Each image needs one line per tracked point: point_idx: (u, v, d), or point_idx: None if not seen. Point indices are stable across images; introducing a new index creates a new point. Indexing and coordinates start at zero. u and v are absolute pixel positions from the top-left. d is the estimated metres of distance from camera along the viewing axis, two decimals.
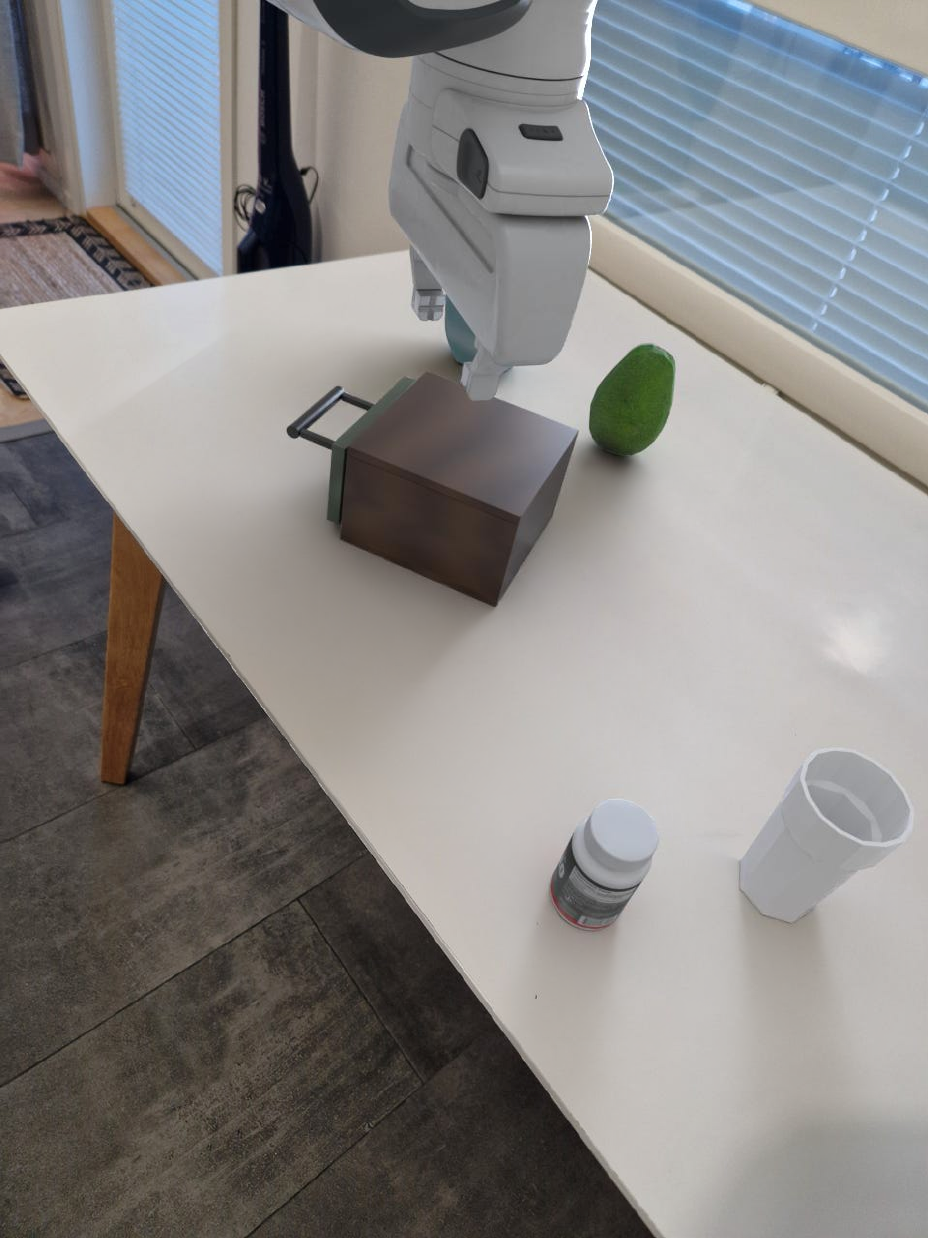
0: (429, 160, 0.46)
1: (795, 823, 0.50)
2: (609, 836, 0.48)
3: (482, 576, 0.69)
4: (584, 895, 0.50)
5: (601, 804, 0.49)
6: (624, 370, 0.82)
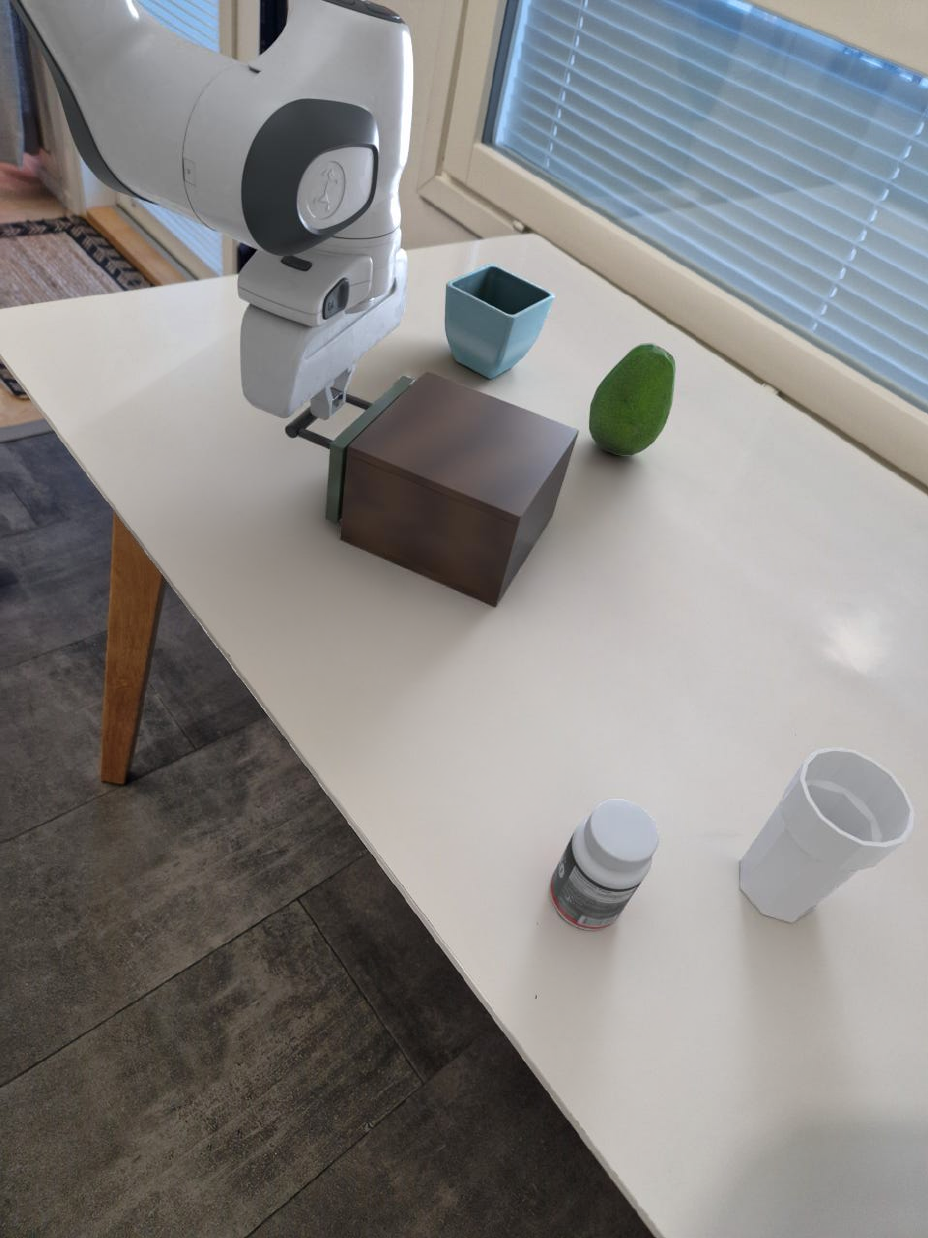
0: None
1: (795, 823, 0.50)
2: (609, 836, 0.48)
3: (482, 576, 0.69)
4: (584, 895, 0.50)
5: (601, 804, 0.49)
6: (624, 370, 0.82)
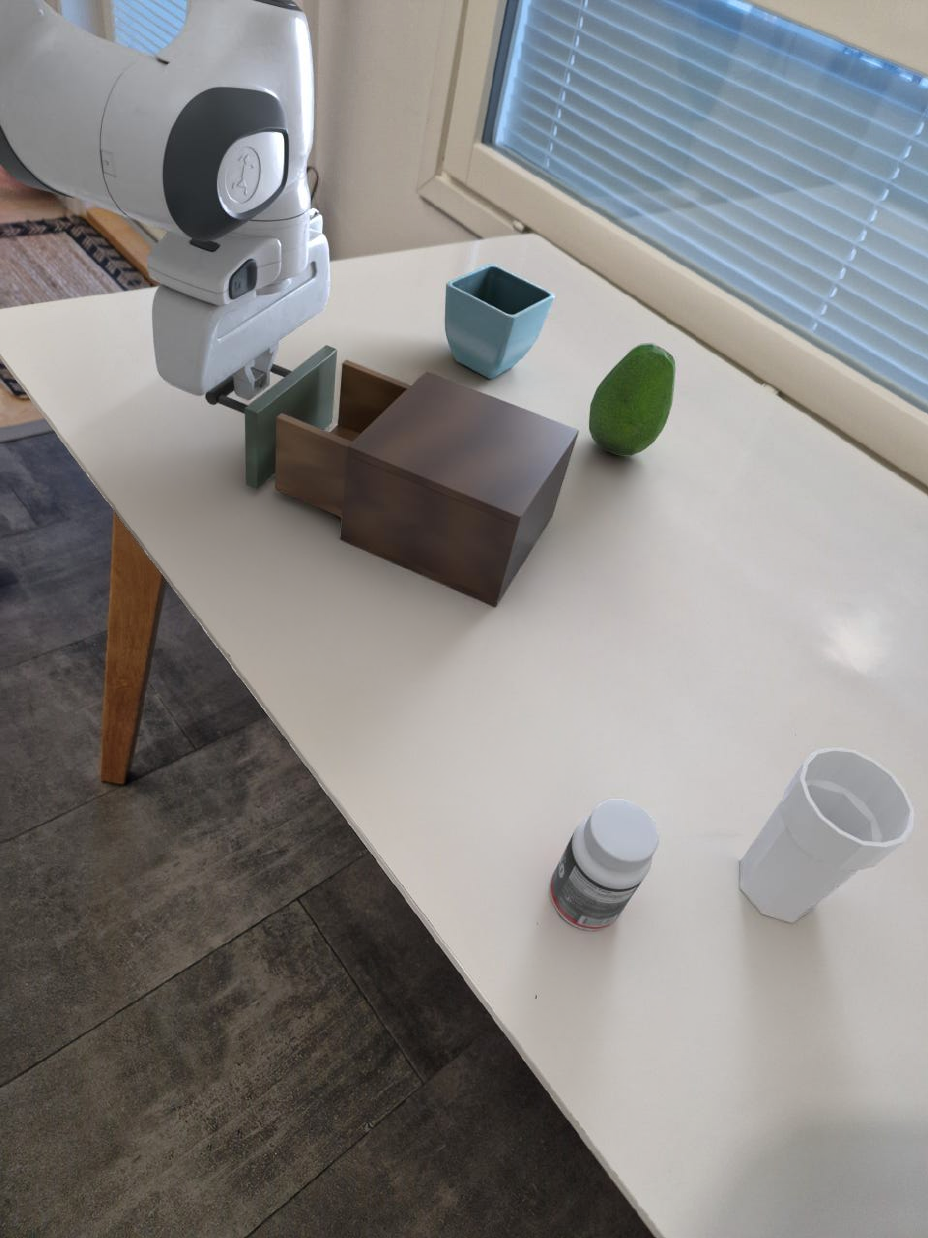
0: None
1: (795, 823, 0.50)
2: (609, 836, 0.48)
3: (482, 576, 0.69)
4: (584, 895, 0.50)
5: (601, 804, 0.49)
6: (624, 370, 0.82)
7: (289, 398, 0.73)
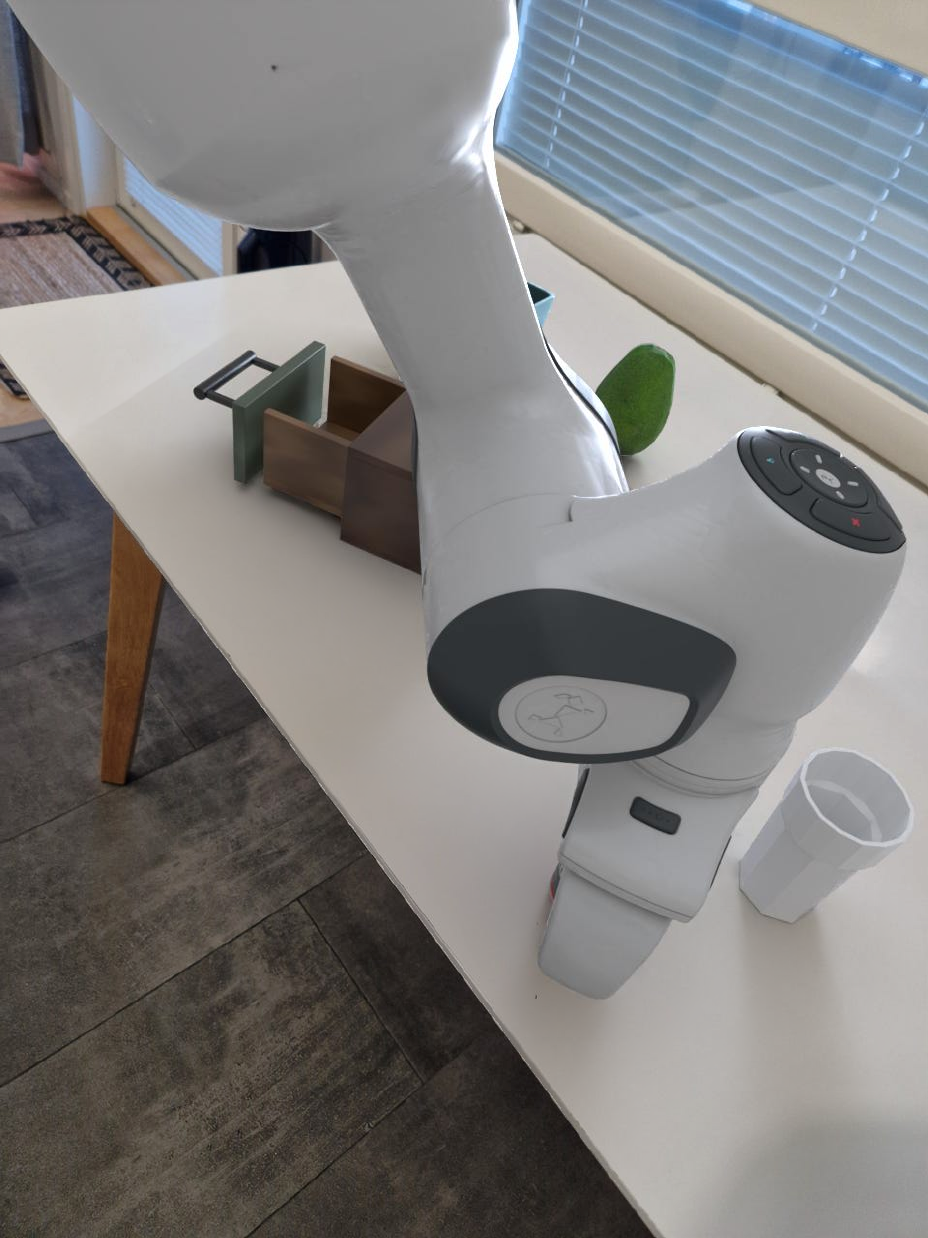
0: None
1: (795, 823, 0.50)
2: None
3: None
4: None
5: None
6: (624, 370, 0.82)
7: (277, 393, 0.73)
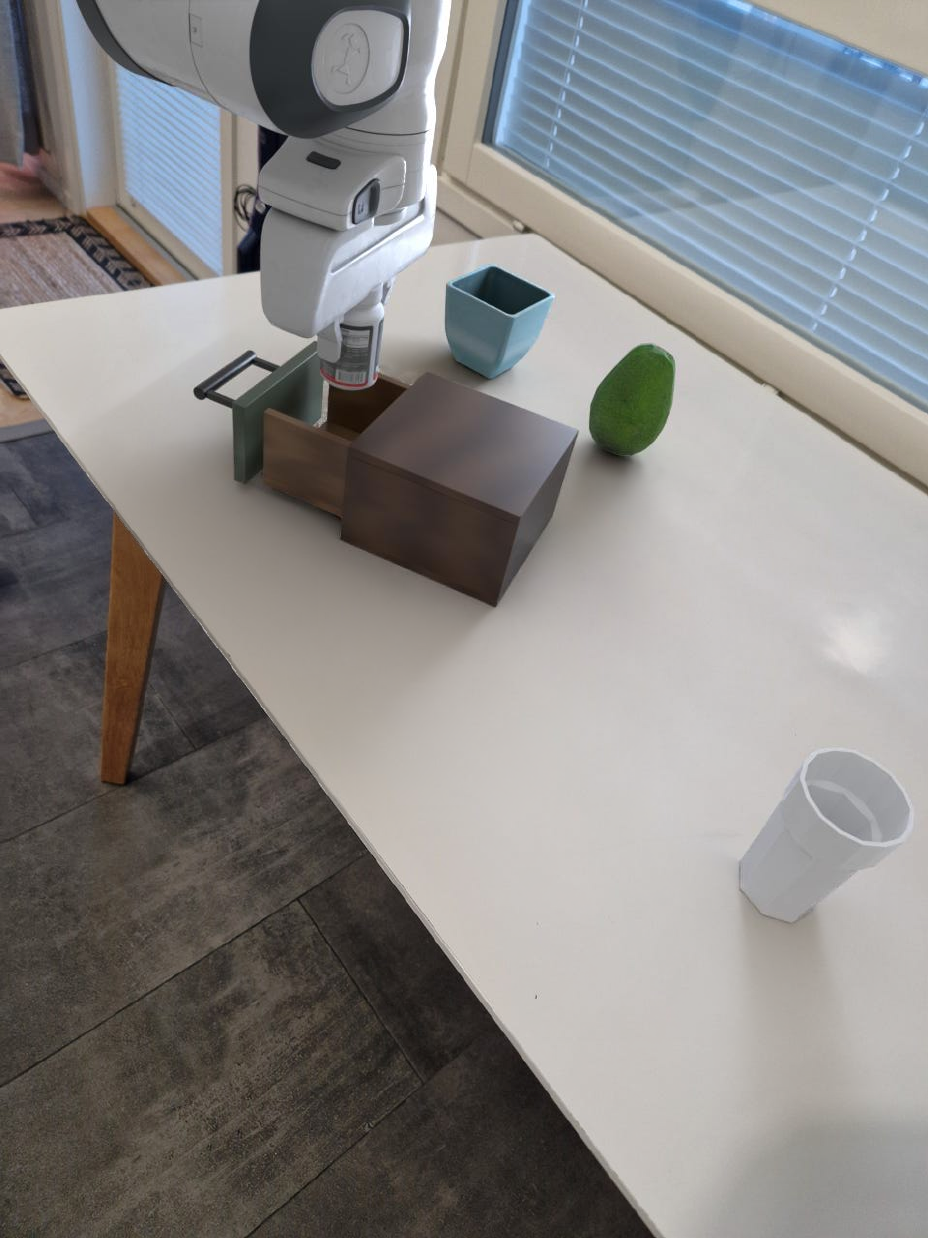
0: None
1: (795, 823, 0.50)
2: None
3: (482, 576, 0.69)
4: None
5: None
6: (624, 370, 0.82)
7: (277, 393, 0.73)
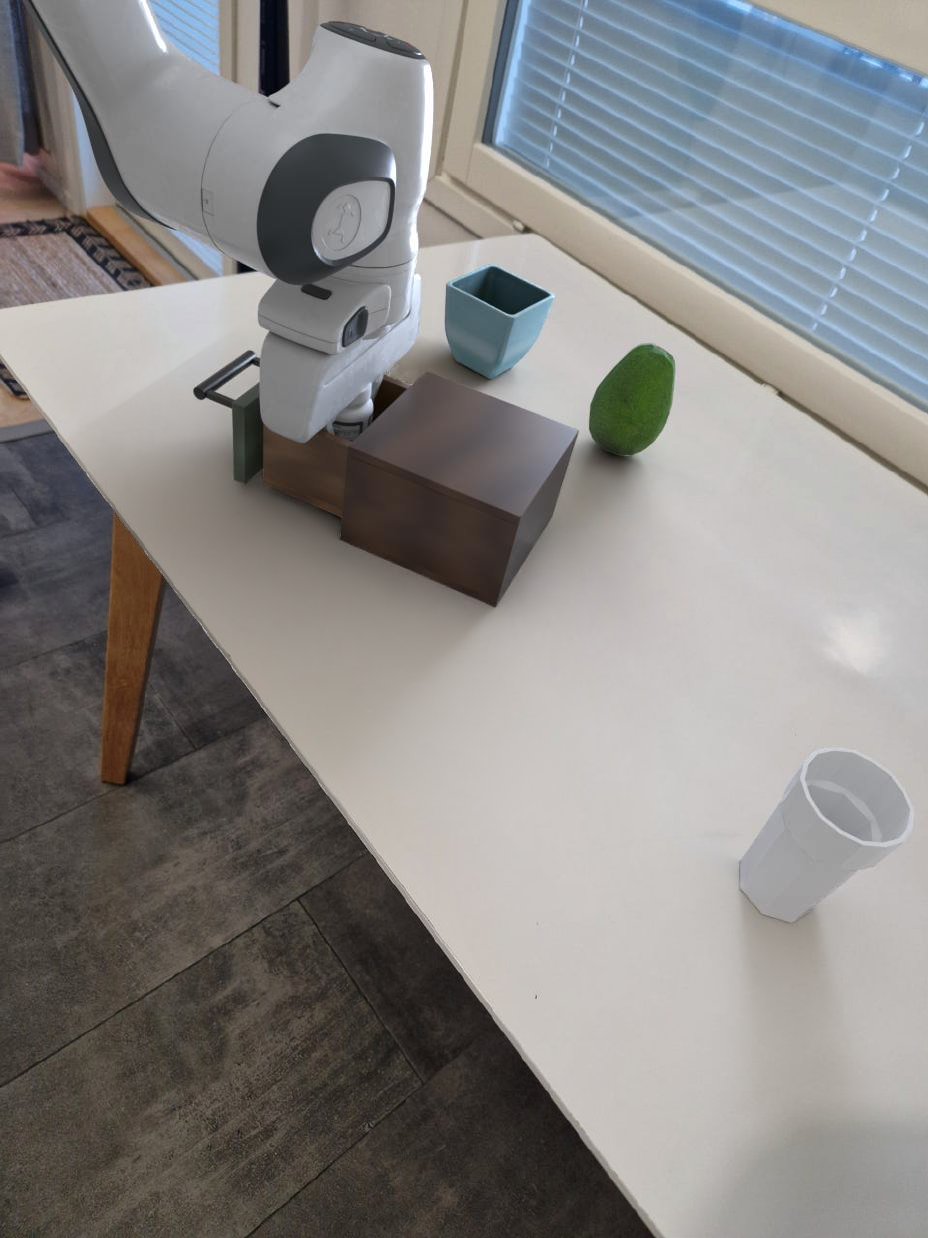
0: None
1: (795, 823, 0.50)
2: None
3: (482, 576, 0.69)
4: None
5: None
6: (624, 370, 0.82)
7: None
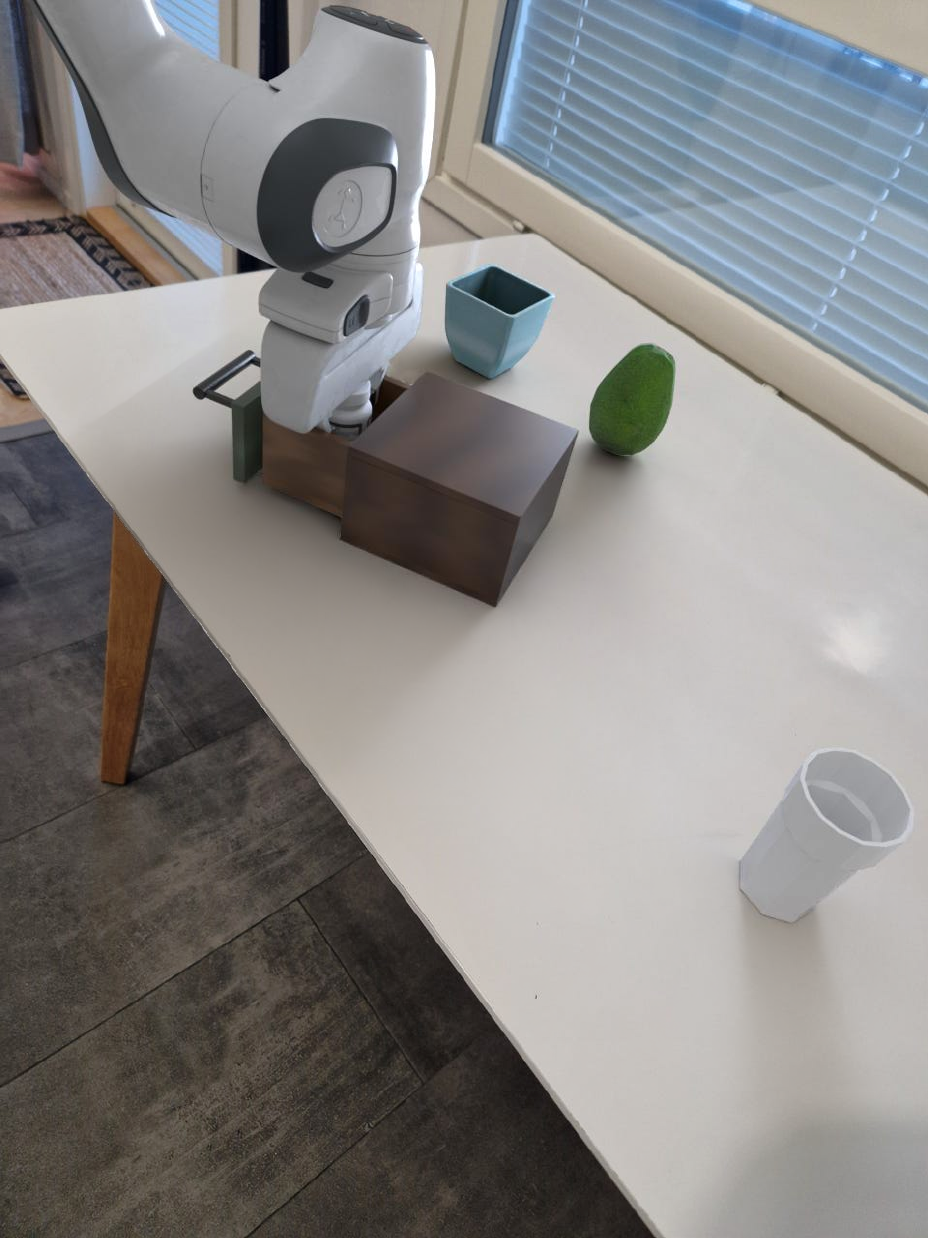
0: None
1: (795, 823, 0.50)
2: None
3: (482, 576, 0.69)
4: None
5: None
6: (624, 370, 0.82)
7: None
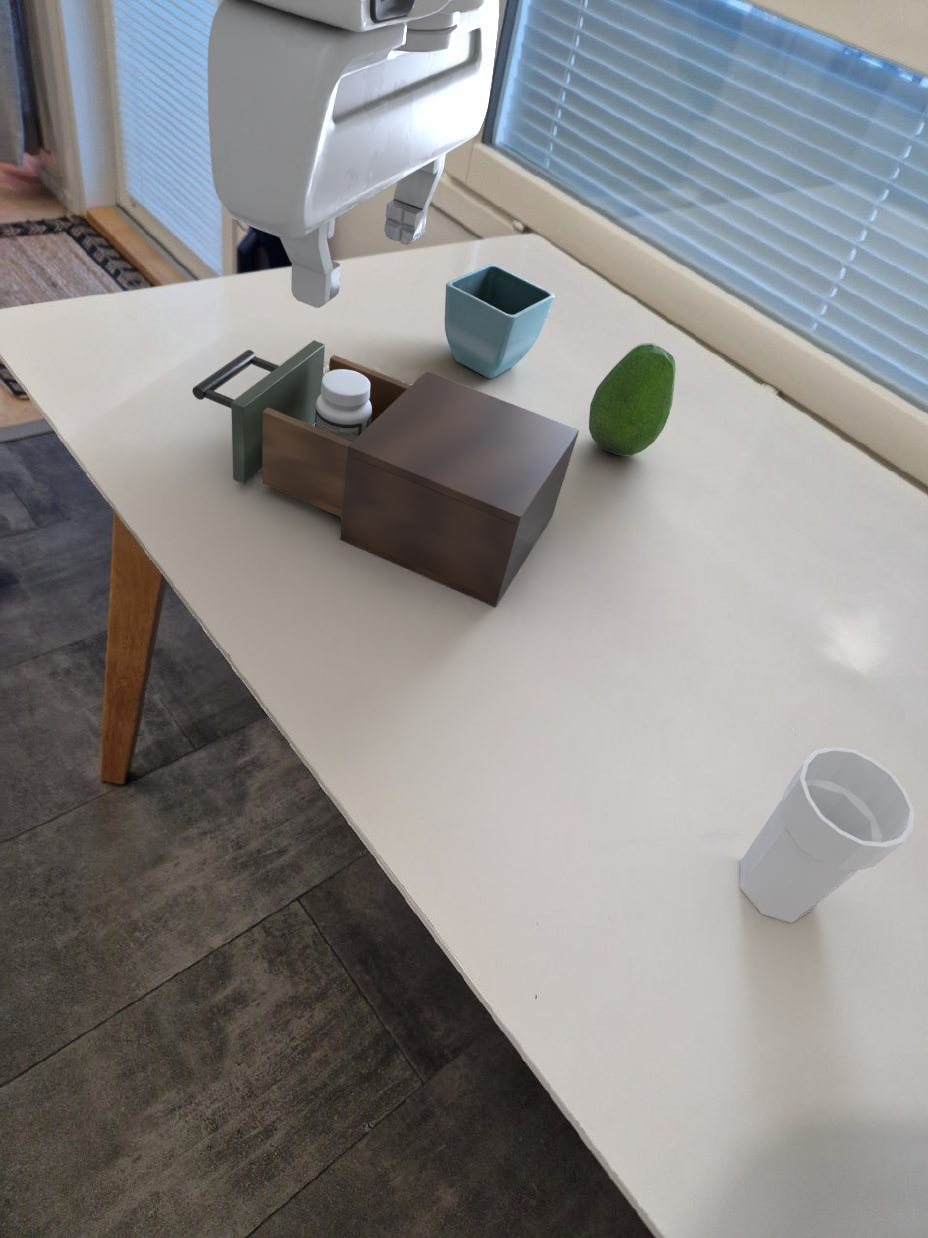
0: None
1: (795, 823, 0.50)
2: (333, 383, 0.71)
3: (482, 576, 0.69)
4: None
5: (333, 370, 0.72)
6: (624, 370, 0.82)
7: (276, 393, 0.73)
